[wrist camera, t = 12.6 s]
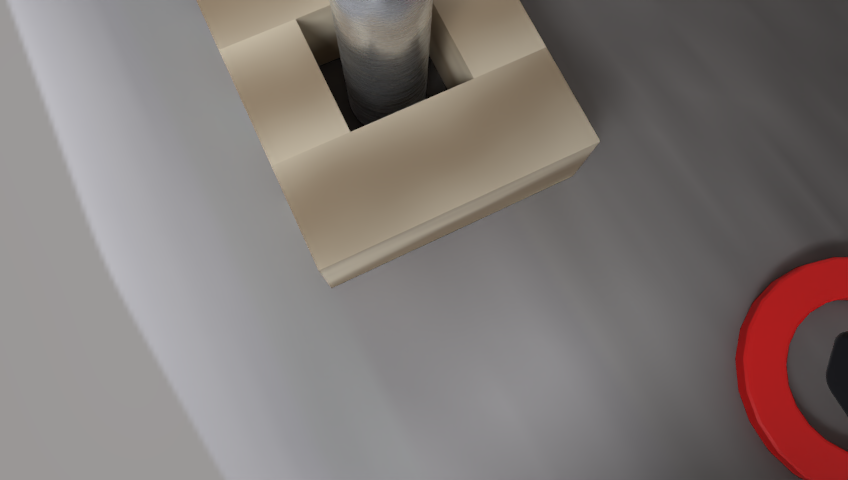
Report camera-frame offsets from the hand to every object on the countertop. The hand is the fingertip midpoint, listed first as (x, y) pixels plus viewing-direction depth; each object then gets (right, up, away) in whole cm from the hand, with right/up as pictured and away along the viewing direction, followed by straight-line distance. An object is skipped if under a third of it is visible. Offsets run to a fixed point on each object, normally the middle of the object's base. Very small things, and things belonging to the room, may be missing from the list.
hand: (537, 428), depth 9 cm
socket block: (-3, +8, +16) cm, 18 cm away
